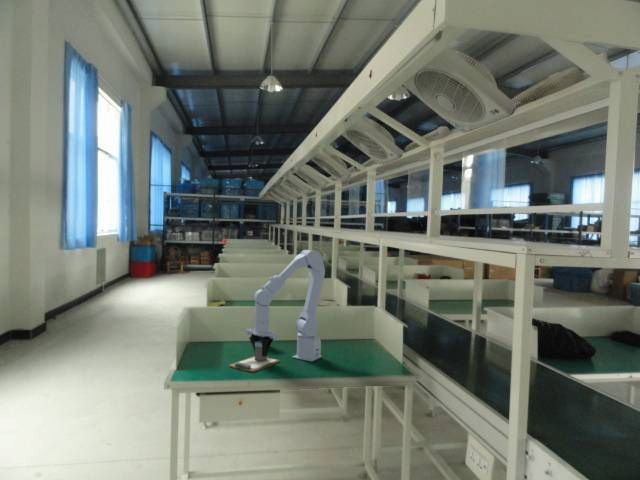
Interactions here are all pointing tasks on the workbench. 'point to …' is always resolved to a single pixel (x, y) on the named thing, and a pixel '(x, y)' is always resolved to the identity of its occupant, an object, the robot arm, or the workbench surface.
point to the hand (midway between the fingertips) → (261, 354)
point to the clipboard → (253, 364)
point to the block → (259, 352)
